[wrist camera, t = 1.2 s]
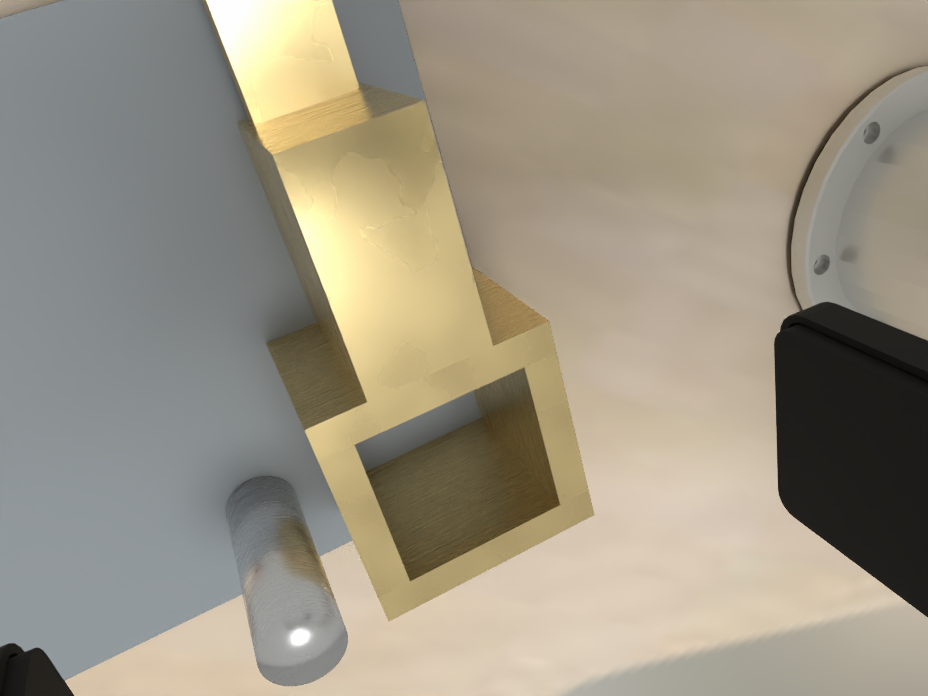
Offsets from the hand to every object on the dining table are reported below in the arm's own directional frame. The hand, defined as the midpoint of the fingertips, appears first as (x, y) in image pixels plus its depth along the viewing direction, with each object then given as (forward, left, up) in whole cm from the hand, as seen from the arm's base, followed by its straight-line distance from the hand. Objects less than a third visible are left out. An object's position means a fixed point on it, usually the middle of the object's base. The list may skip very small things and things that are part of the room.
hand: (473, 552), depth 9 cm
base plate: (+4, +2, -18) cm, 18 cm away
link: (-2, +2, -16) cm, 16 cm away
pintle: (+4, +9, -18) cm, 20 cm away
